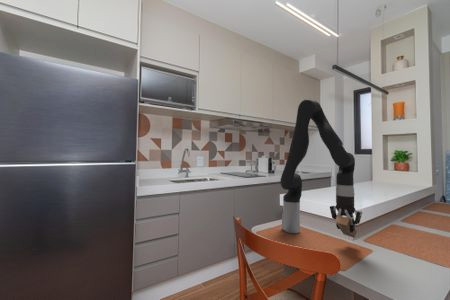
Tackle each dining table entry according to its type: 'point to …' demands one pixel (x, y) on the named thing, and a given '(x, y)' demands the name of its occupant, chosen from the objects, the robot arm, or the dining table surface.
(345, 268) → the dining table surface
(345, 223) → the brown cardboard box
